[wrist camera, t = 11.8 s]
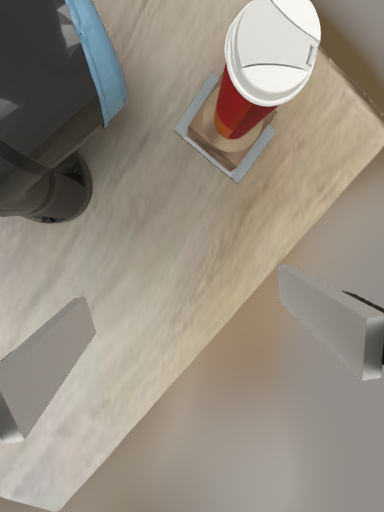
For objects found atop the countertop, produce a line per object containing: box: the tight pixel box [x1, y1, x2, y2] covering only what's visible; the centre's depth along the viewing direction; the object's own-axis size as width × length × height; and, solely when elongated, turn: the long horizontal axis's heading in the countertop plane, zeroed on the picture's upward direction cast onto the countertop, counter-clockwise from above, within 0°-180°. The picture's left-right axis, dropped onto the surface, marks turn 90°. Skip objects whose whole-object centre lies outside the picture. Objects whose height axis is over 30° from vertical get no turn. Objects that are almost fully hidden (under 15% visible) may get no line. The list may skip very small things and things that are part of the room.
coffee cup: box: [214, 0, 321, 140], centre depth 24 cm, size 8×8×15 cm
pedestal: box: [187, 72, 277, 172], centre depth 33 cm, size 10×10×5 cm
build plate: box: [174, 72, 276, 183], centre depth 37 cm, size 15×11×1 cm
